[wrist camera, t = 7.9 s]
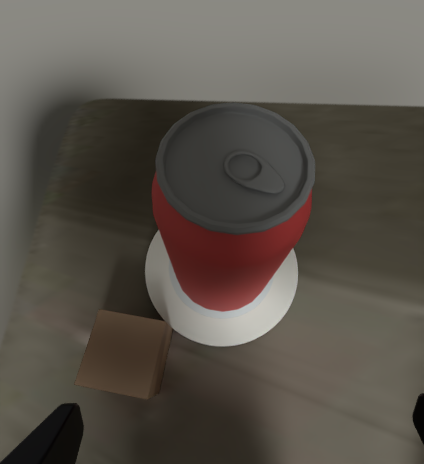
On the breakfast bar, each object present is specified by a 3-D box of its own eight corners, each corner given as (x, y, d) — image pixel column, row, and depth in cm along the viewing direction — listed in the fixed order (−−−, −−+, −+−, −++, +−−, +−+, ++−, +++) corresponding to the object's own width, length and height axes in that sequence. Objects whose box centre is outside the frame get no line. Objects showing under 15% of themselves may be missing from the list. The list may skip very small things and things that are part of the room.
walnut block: (159, 393, 19) (147, 399, 15) (99, 381, 19) (74, 384, 16) (173, 329, 21) (165, 321, 17) (118, 319, 21) (99, 308, 17)
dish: (253, 379, 19) (256, 380, 18) (118, 296, 21) (113, 292, 20) (315, 244, 23) (321, 238, 22) (196, 185, 25) (195, 177, 24)
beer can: (233, 334, 19) (265, 291, 8) (156, 275, 21) (98, 174, 10) (284, 257, 21) (364, 143, 10) (212, 209, 23) (214, 68, 12)
